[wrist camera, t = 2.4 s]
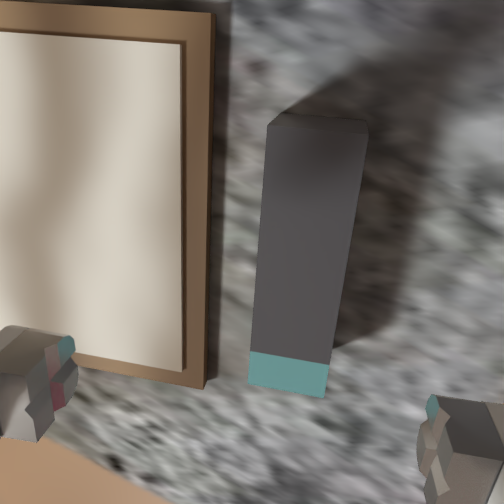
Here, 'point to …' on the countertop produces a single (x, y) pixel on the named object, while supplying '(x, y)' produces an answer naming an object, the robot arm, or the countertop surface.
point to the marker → (303, 247)
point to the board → (108, 183)
